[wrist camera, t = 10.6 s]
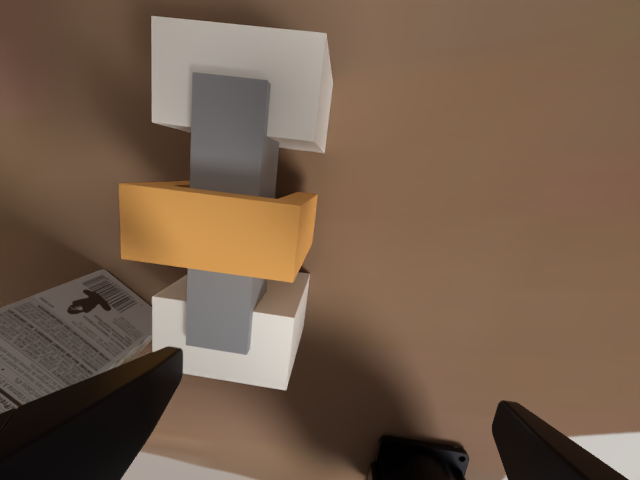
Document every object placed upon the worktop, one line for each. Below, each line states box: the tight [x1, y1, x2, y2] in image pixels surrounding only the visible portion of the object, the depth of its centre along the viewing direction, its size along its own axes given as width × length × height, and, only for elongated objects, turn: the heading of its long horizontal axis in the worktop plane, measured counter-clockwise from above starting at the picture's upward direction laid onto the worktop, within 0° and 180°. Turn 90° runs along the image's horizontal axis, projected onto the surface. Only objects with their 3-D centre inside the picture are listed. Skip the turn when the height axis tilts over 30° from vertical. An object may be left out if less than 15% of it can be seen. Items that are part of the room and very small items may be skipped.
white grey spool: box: [151, 16, 333, 390], centre depth 16 cm, size 16×7×7 cm, turn 173°
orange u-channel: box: [119, 181, 318, 283], centre depth 15 cm, size 7×3×7 cm, turn 83°
